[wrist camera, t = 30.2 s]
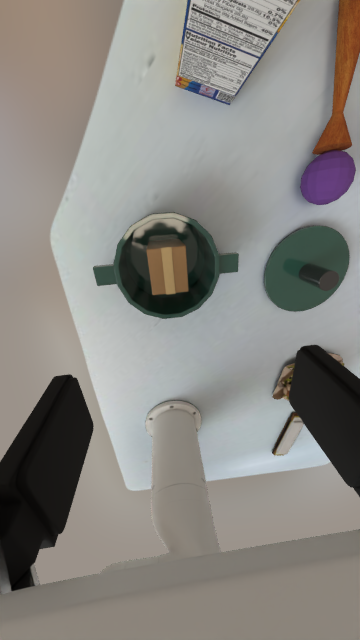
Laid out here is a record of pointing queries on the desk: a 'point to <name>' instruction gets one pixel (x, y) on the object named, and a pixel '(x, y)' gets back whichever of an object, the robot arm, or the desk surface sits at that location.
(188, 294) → the pot
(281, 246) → the pot lid
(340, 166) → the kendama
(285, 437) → the harmonica
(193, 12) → the blue cardboard box
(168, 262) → the package
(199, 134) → the desk surface
